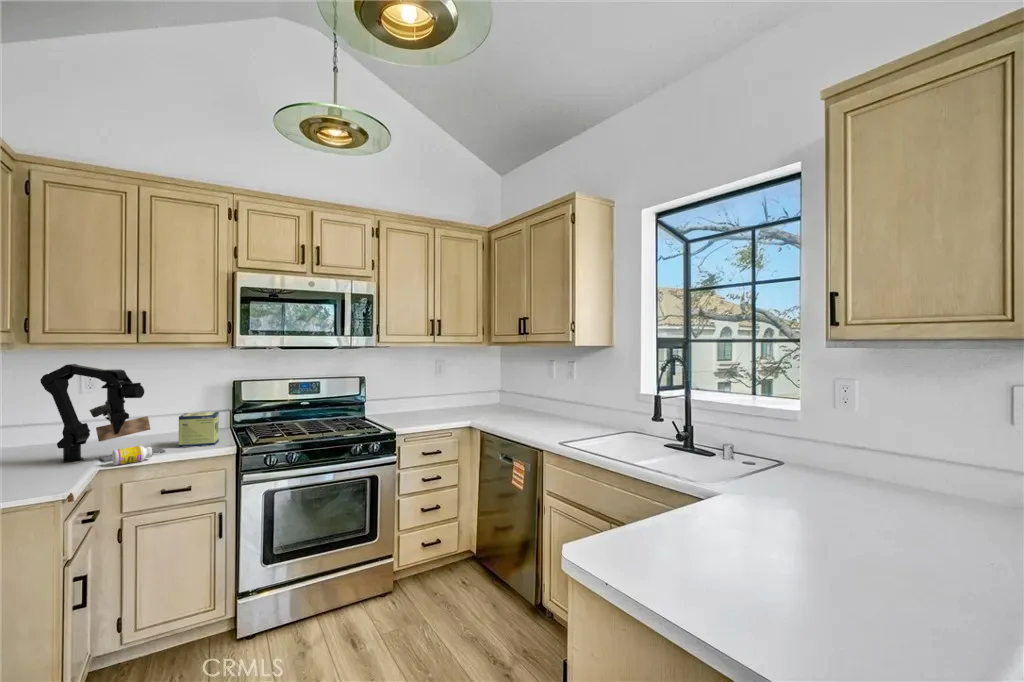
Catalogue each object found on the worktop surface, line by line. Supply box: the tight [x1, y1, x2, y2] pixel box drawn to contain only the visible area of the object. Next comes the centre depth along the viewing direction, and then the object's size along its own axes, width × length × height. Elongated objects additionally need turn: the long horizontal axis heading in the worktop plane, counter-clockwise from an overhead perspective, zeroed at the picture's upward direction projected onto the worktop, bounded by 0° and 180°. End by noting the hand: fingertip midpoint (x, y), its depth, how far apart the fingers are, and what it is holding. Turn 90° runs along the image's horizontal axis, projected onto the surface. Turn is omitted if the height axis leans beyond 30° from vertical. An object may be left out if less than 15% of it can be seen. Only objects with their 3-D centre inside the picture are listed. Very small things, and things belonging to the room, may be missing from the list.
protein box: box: [177, 411, 220, 448], centre depth 237 cm, size 10×16×16 cm
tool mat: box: [99, 447, 166, 463], centre depth 215 cm, size 8×22×1 cm, turn 142°
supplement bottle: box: [111, 445, 153, 466], centre depth 204 cm, size 7×7×13 cm
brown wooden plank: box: [95, 415, 151, 442], centre depth 210 cm, size 18×2×6 cm, turn 139°
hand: (115, 433), depth 208 cm, fingers closed on brown wooden plank, 2 cm apart
